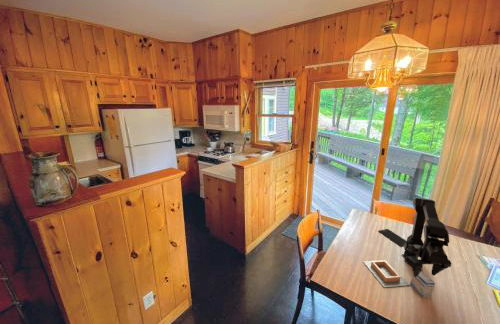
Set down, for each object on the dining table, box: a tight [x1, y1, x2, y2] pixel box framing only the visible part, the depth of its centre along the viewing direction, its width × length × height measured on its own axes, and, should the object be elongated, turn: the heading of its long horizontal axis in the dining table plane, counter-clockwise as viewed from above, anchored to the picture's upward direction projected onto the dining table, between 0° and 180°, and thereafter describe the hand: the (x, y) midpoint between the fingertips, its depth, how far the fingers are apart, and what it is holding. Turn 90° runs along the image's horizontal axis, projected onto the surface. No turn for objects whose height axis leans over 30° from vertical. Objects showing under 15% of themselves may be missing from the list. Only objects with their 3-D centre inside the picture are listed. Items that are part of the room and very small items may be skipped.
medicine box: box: [409, 270, 436, 298], centre depth 102 cm, size 8×4×9 cm, turn 5°
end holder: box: [362, 259, 411, 289], centre depth 113 cm, size 14×18×3 cm
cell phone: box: [378, 228, 407, 248], centre depth 143 cm, size 9×18×1 cm, turn 15°
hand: (423, 275), depth 100 cm, fingers open, 9 cm apart
